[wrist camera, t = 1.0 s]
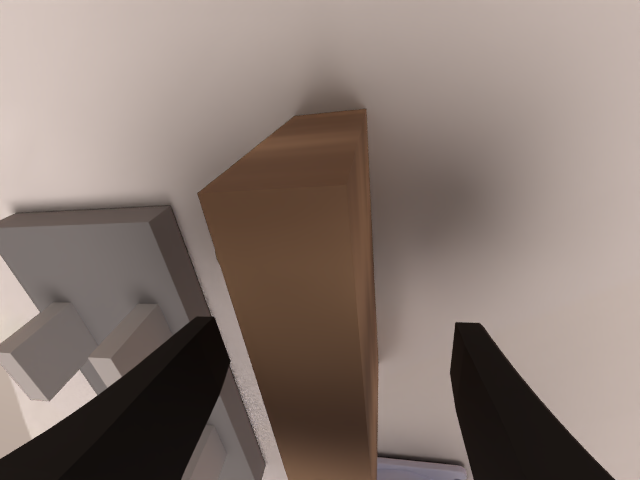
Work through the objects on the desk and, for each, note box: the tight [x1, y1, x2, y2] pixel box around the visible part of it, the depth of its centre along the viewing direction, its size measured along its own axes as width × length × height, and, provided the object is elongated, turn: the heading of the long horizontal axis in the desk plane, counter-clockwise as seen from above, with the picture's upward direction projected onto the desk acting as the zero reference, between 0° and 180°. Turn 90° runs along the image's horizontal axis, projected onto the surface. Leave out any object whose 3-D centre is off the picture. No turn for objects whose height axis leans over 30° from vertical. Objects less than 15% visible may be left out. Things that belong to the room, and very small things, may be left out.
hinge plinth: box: [0, 206, 266, 480], centre depth 17 cm, size 20×8×4 cm, turn 7°
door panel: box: [197, 109, 378, 480], centre depth 11 cm, size 12×3×7 cm, turn 7°
